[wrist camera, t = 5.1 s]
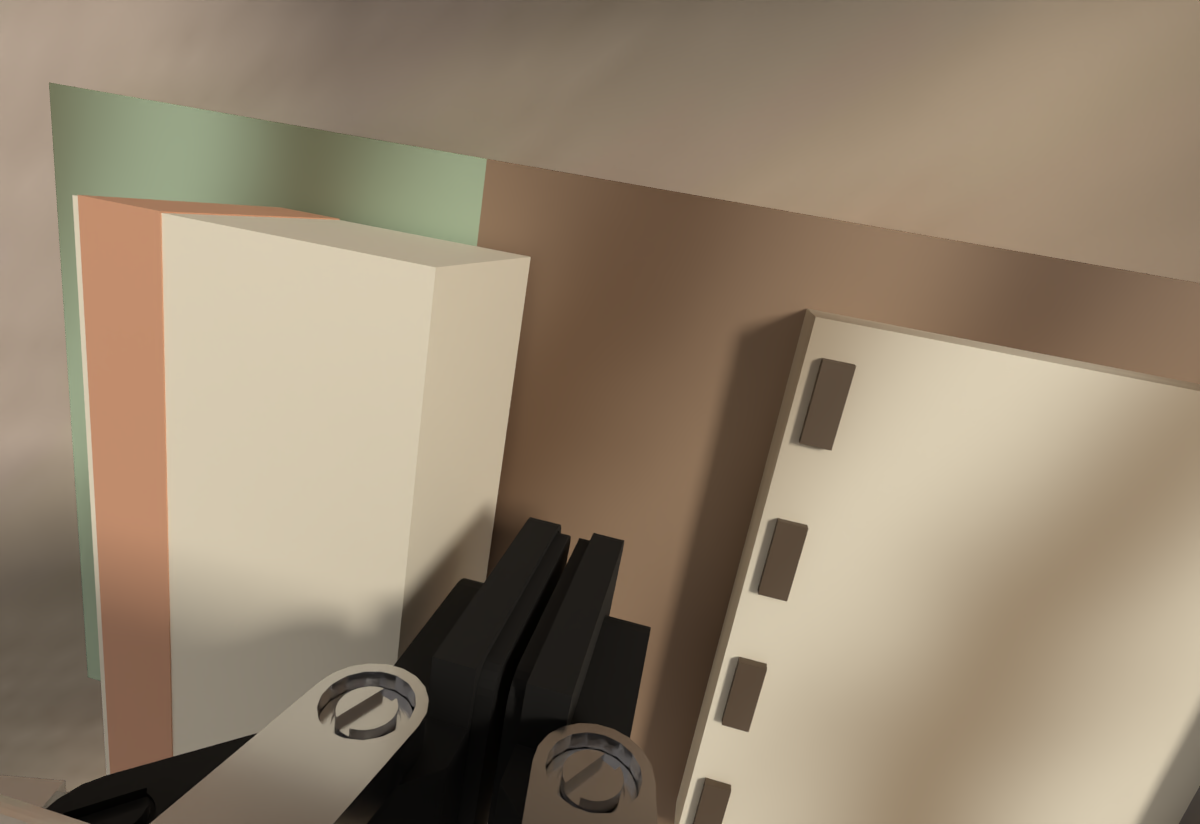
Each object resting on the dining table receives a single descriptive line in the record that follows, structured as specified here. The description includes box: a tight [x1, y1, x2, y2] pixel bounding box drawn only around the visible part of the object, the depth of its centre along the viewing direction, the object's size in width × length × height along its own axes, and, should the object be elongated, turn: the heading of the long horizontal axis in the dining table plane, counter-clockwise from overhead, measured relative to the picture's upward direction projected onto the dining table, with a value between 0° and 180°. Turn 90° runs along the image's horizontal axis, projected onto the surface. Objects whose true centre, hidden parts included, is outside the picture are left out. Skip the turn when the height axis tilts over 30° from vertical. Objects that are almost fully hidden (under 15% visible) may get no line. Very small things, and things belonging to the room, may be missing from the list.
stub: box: [72, 195, 531, 775], centre depth 12 cm, size 5×11×4 cm, turn 170°
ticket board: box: [49, 83, 1200, 824], centre depth 13 cm, size 26×14×3 cm, turn 80°
